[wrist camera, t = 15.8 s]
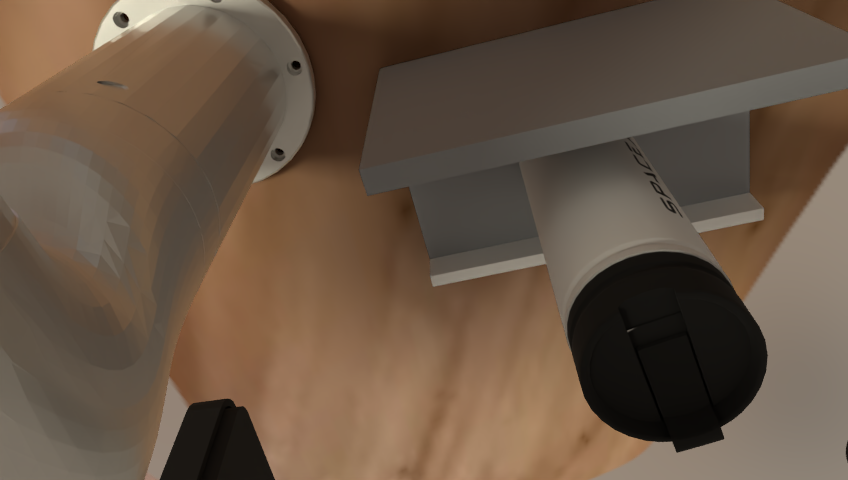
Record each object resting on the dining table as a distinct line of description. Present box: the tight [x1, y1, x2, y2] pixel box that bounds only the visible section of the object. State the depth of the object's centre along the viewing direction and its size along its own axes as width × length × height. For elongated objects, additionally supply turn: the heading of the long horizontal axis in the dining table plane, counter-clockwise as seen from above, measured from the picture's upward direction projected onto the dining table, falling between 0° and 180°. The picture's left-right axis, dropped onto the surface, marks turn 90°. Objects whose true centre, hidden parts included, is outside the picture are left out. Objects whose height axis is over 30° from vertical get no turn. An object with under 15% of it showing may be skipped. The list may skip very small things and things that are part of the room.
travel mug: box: [519, 137, 768, 452], centre depth 31 cm, size 6×7×20 cm
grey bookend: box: [359, 0, 848, 287], centre depth 35 cm, size 20×13×14 cm, turn 104°
